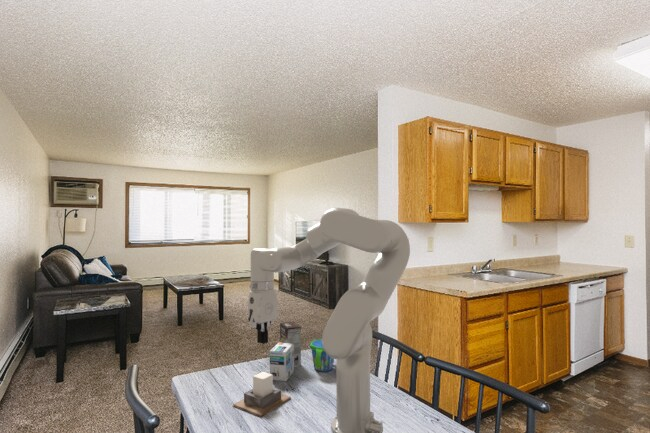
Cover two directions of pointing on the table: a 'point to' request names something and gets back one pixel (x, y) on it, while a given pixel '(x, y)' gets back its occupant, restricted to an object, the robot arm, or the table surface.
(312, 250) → the robot arm
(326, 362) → the snack cup
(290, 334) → the coffee box
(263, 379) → the off-white rectangular box
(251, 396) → the socket
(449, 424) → the table surface
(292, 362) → the light bulb box
